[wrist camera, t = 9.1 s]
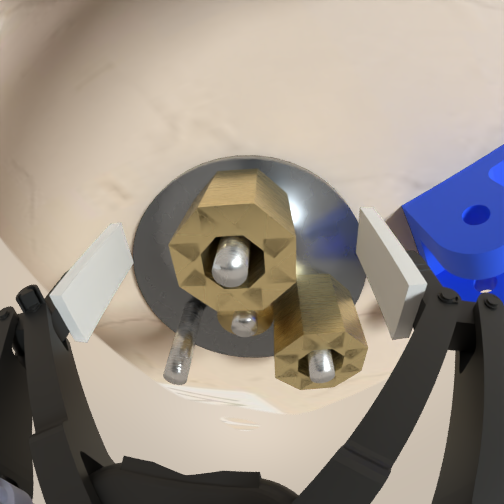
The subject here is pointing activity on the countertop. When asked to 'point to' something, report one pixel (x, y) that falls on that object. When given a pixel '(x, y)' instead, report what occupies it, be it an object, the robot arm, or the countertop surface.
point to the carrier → (235, 273)
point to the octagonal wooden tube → (233, 224)
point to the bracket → (464, 228)
